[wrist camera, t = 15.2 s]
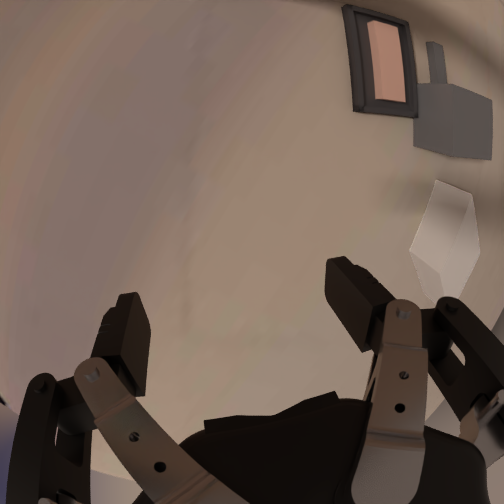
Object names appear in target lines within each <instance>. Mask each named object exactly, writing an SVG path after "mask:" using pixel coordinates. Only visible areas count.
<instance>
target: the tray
mask: <svg viewBox="0 0 504 504" xmlns="http://www.w3.org/2000/svg"><path fill="white" fill-rule="evenodd" d="M341 8H342V13H343V19H344V26H345V32H346V39H347V47H348V55H349V65H350V75H351V87H352V101H353V112H368V113H380V114H390V115H399V116H407V117H415V118H418V100H417V84H416V73H415V63H414V55H413V48H412V41H411V35H410V29H409V24H408V22H407V21H404V20H401V19H399V18H396V17H393V16H389V15H386V14H383V13H380V12H376V11H373V10H369V9H365V8H361V7H357V6H353V5H349V4H346V5H344V6H343V7H341ZM373 20H374V21H378V22H382V23H385V24H388V25H392V26H395V27H397V28H398V34H399V40H400V47H401V55H402V63H403V73H404V85H405V101H406V102H395V101H388V100H381V99H375V85H374V73H373V63H372V54H371V46H370V38H369V32H368V25H367V23H368V22H371V21H373Z"/></svg>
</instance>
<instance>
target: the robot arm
mask: <svg viewBox="0 0 504 504" xmlns="http://www.w3.org/2000/svg"><path fill="white" fill-rule="evenodd" d="M325 296H326V300H327V302H328V304H329V305H330V306H331V308H332V309H333V311H334V312H335V314H336V315H337V317H338V318H339V320H340V321H341V322H342V324H343V325H344V327H345V328H346V330H347V331H348V333H349V334H350V336H351V337H352V339H353V340H354V342H355V343H356V345H357V346H358V348H359V349H360V351H361V352H362V353H363V352H366V351H368V350H371V349H372V350H373V352H374V355H373V358H372V363H371V368H370V372H369V377H368V381H367V386H366V390H365V394H364V397H363V400H359V399H350V398H342V399H339V398H338V396H337V394H336V392H335V391H332V392H329V393H326V394H323V395H320V396H316V397H313V398H309V399H306V400H303V401H301V402H300V403H298V404H296V405H294V406H292V407H290V408H288V409H286V410H284V411H282V412H280V413H278V414H276V415H272V416H245V415H235V416H230V417H223V418H217V419H210V420H204V428H205V429H204V430H201V431H199V432H197V433H195V434H193V435H191V436H189V437H188V438H186V439H185V440H184V441H182V442H181V443H180V444H179V445H178V444H177V443H176V442H175V441H174V440H173V439H172V438H171V437H170V436H169V435H168V434H167V433H166V432H165V431H164V430H163V429H162V428H161V427H160V426H159V425H158V424H157V422H156V421H155V420H154V419H153V418H152V417H151V416H150V415H149V414H148V412H147V411H146V410H145V409H144V408H143V407H142V405H141V404H140V403H139V402H138V401H137V400H136V398H135V397H140V396H145V390H146V377H147V366H148V356H149V346H150V338H151V329H150V324H149V320H148V318H147V315H146V312H145V310H144V307H143V304H142V302H141V299H140V296H139V294H138V293H137V292H132V293H126V294H120V295H119V297H118V300H117V303H116V306H115V307H112V308H110V309H109V310H108V311H107V313H106V314H105V315H104V316H103V319H102V322H101V327H100V328H99V331H98V333H99V334H97V337H96V341H95V344H94V347H93V350H92V354H91V357H90V358H89V359H86V360H85V361H83V362H82V363H80V364H79V365H78V367H77V368H76V370H75V373H74V376H73V377H70V378H67V379H63V380H60V381H56V379H55V378H54V377H53V376H52V375H51V374H49V373H41V374H39V375H37V376H35V377H34V378H33V379H32V380H31V381H30V383H29V385H28V387H27V390H26V393H25V397H24V400H23V404H22V407H21V411H20V415H19V419H18V423H17V427H16V432H15V436H14V441H13V447H12V452H11V458H10V465H9V473H8V481H7V493H6V504H91V500H90V463H91V442H92V430H94V429H99V431H100V433H101V434H102V436H103V437H104V439H105V440H106V442H107V443H108V445H109V446H110V448H111V449H112V451H113V452H114V454H115V455H116V456H117V458H118V459H119V460H120V462H121V463H122V465H123V466H124V467H125V468H126V470H127V471H128V472H129V474H130V475H131V476H132V477H133V479H134V480H135V481H136V482H137V484H138V485H139V486H140V487H141V488H142V489H143V491H142V492H141V493H140V495H139V496H138V497H137V499H136V500H135V501H134V502H133V503H132V504H490V501H489V496H488V490H487V470H486V469H487V468H488V467H489V466H490V465H492V464H493V463H494V462H495V461H497V460H498V459H500V457H502V456H503V455H504V345H503V344H502V343H501V342H500V341H499V340H498V339H497V337H496V336H495V335H494V334H493V333H492V332H491V331H490V330H489V329H488V328H487V327H486V326H485V325H484V324H483V322H482V321H481V320H480V319H479V318H478V317H477V316H476V315H475V314H474V313H473V312H472V311H471V310H470V309H469V308H468V307H467V306H466V305H465V304H464V303H463V302H461V301H460V300H459V299H457V298H454V297H450V296H445V297H441V298H440V299H438V301H437V304H436V307H435V308H432V309H420V308H419V307H418V306H417V305H416V304H415V303H413V302H411V301H409V300H405V299H396V298H395V297H394V296H393V295H392V294H391V293H390V292H389V291H388V290H387V289H386V288H385V287H384V286H383V285H382V284H381V283H379V282H378V280H377V279H376V278H375V277H374V278H373V275H372V274H371V273H370V272H369V271H368V270H367V269H364V268H362V267H360V266H358V265H353V264H352V263H351V262H350V261H349V260H348V259H347V258H346V257H345V256H341V257H336V258H331V259H328V260H327V262H326V275H325ZM453 342H454V343H455V344H456V346H457V347H458V348H459V349H460V350H461V352H462V353H463V354H464V356H465V366H464V365H463V364H462V363H461V361H460V360H459V359H458V358H457V356H456V355H455V354H454V353H453V351H452V350H451V347H452V344H453ZM428 373H429V375H430V376H431V377H432V379H433V380H434V382H435V383H436V385H437V386H438V388H439V389H440V391H441V393H442V394H443V396H444V397H445V399H446V400H447V402H448V403H449V405H450V406H451V408H452V410H453V411H454V413H455V414H456V416H457V418H458V419H459V421H460V435H459V437H456V436H453V435H450V434H447V433H444V432H441V431H439V430H436V429H433V428H431V427H428V426H425V425H424V422H425V412H426V400H427V381H428ZM57 427H58V433H57V440H56V446H55V435H56V429H57Z"/></svg>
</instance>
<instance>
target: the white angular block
mask: <svg viewBox="0 0 504 504" xmlns="http://www.w3.org/2000/svg"><path fill="white" fill-rule="evenodd" d="M409 251H410V254H411V257H412V260H413V263H414V265H415V268H416V271H417V274H418V277H419V280H420V284H421V287H422V290H423V293H424V294H425V295H426V296H427V297H428V298H429V299H430V300H431V301H432V302H434V303H435V304H437V301H438V299H440V298H441V297H445V296H450V297H454V298H457V299H458V297H459V296H460V294H461V292H462V290H463V288H464V286H465V284H466V282H467V280H468V278H469V276H470V274H471V272H472V270H473V268H474V266H475V264H476V262H477V259H478V257H479V255H480V246H479V237H478V228H477V221H476V214H475V208H474V202H473V197H472V194H470V193H468V192H466V191H463V190H461V189H459V188H456V187H454V186H452V185H449V184H447V183H444V182H442V181H439V180H436V181H435V184H434V187H433V190H432V193H431V196H430V199H429V201H428V204H427V207H426V210H425V212H424V215H423V218H422V220H421V223H420V225H419V228H418V230H417V233H416V235H415V238H414V240H413V242H412V245H411V247H410V249H409Z"/></svg>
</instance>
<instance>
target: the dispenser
mask: <svg viewBox="0 0 504 504" xmlns="http://www.w3.org/2000/svg"><path fill="white" fill-rule="evenodd" d="M426 46H427V53H428V61H429V70H430V80H431V84H417V100H418V118H415V117H413V118H414V146H415V147H419V148H423V149H427V150H431V151H435V152H438V153H442V154H445V155H449V156H452V157H463V158H474V159H483V160H491V158H492V138H493V111H492V100H491V99H488V98H486V97H484V96H482V95H479V94H477V93H474V92H472V91H469V90H467V89H464V88H462V87H459V86H456V85H453V84H447V78H446V68H445V60H444V52H443V46H442V45H440V44H438V43H435V42H426Z"/></svg>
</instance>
